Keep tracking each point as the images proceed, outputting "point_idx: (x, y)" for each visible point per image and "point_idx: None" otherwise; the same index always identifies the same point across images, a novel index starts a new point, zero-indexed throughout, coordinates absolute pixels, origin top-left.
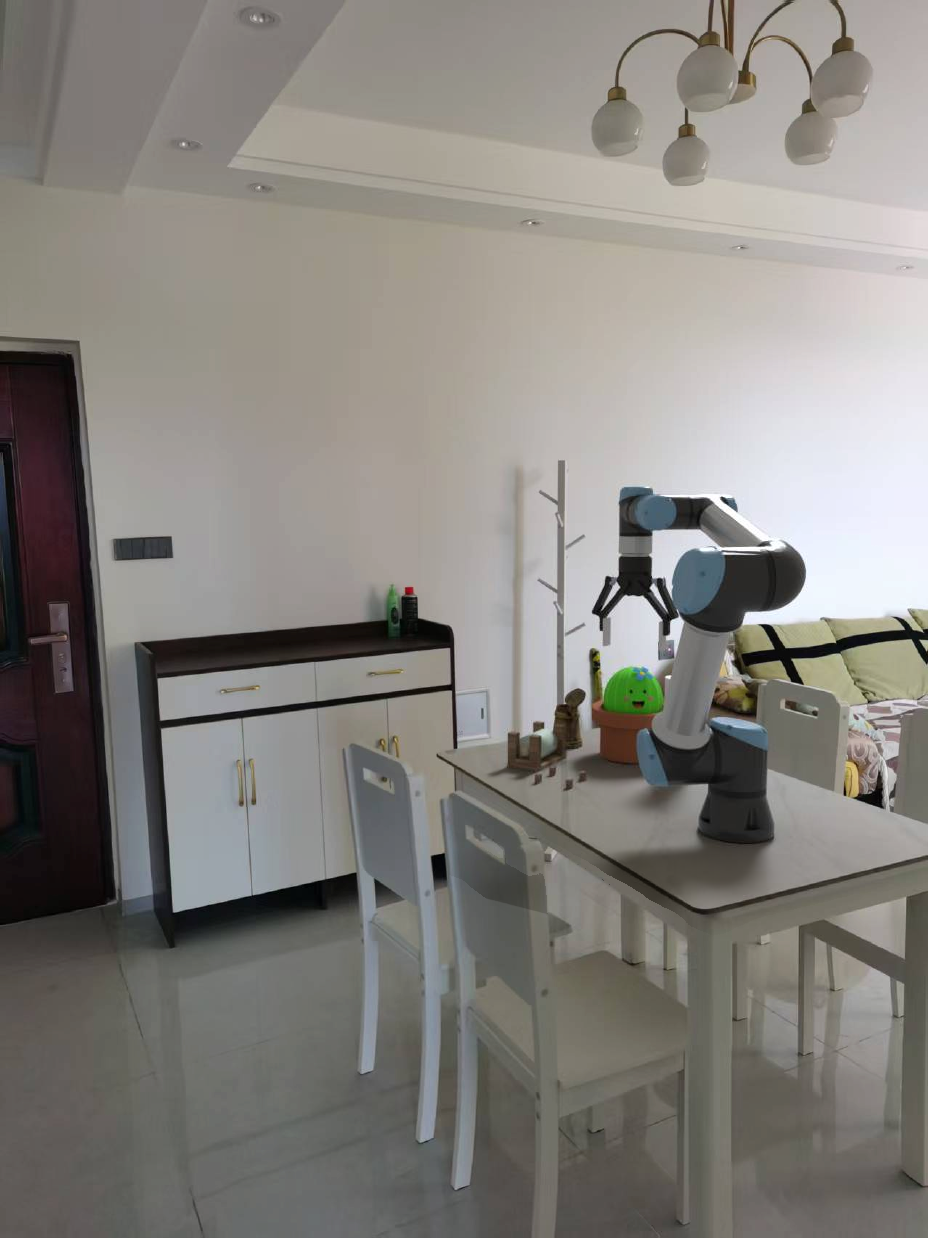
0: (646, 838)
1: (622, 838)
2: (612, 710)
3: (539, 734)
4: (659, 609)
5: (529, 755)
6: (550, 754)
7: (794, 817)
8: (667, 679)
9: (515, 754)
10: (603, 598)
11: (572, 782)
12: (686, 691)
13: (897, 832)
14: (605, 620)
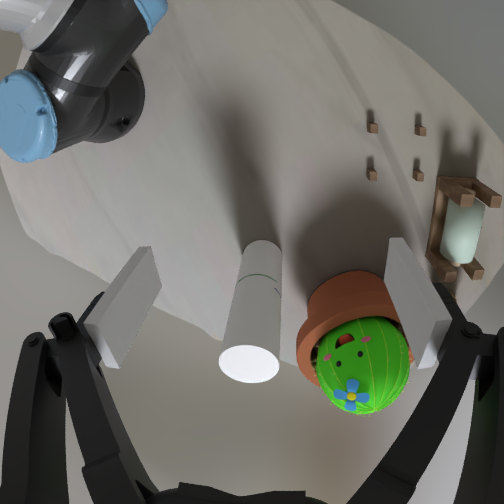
0: (175, 5)
1: None
2: (384, 323)
3: (466, 232)
4: (67, 377)
5: (458, 184)
6: None
7: (86, 186)
8: (265, 347)
9: (476, 184)
10: (496, 425)
11: (369, 131)
12: None
13: (24, 205)
14: (434, 312)
